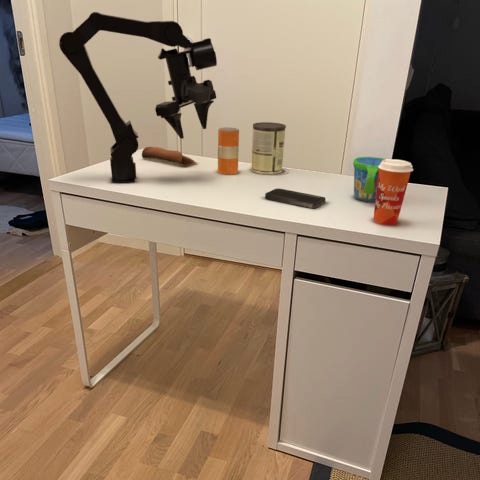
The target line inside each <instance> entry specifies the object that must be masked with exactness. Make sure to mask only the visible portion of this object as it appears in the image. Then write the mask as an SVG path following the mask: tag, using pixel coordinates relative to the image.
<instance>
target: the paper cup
mask: <svg viewBox="0 0 480 480" xmlns="http://www.w3.org/2000/svg"><path fill="white" fill-rule="evenodd" d="M385 159H386V160H383V161H382V162H381V163H380V165H379V166H378V167H379V175H378V182H377V192H376V200H375V202H374V209H373V219H372V220H373V222H374V223H375V224H378V225H382V226H395V225H396V224H397V223H398V220H399V217H400V214H401V210H402V207H403V202H404V199H405V195H406V191H407V188H408V185H409V181H410V176H411V173H412V172H413V171H414V168H413V165H412V163H411V162H410V161H407V160H403V159H395V158H394V159H393V158H392V159H391V158H388V159H387V158H385Z"/></svg>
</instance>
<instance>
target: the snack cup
mask: <svg viewBox="0 0 480 480" xmlns="http://www.w3.org/2000/svg"><path fill="white" fill-rule="evenodd" d="M386 159H387V158H383V157H376V156H359V157H355V158H354V159H353V163H352V165H353V170H354V171H353V195H354V198H355V199H356V200H359V201H362V202H368V203H369V202H370V203H372V202H373V203H375V200H376V192H377V182H378V175H379V167H378V166H379V165H380V163H381V162H382V161H383V160H386Z"/></svg>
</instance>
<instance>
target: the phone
mask: <svg viewBox="0 0 480 480" xmlns="http://www.w3.org/2000/svg"><path fill="white" fill-rule="evenodd" d="M264 198H265V199H266V200H271V201H276V202H281V203H285V204H290V205H295V206H299V207H305V208H309V209H317V208H318V207H320V206H322V205H324V204H325V203H326V197H325V196H320V195H315V194H311V193H304V192H301V191H295V190H291V189H290V190H289V189H284V188H274V189H272V190H270V191H267V192H265V195H264Z"/></svg>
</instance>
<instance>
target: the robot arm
mask: <svg viewBox="0 0 480 480" xmlns="http://www.w3.org/2000/svg"><path fill="white" fill-rule="evenodd" d="M100 31H104V32H109V33H115V34H120V35H121V34H122V35H126V36H134V37H139V38H145V39H147V40H151V41H154V42H157V43H159V44H161V45H165V46H167V47H171V48H172V49H167V50H166V49H165V48H163V47H162V48H161V49H160V52H159V54H158V56H157V59H159V60H164V59H165V62H166V67H167V70H168V76H169V79H170V80H167V83H168V86H171V87H172V91H173V92H172V93H173V96H171V101H164V102H160V103H158V104H156V105H155V108H154V111H155V114H156V117H160V118H161V119H164V120H165V121H166V122H167V123H168V124H169V126H170V127H171V128H172V129H173V130H174V132H175V133H176V135H177V136H178V137H179V139H181V140H183V139H184V138H185V137H184V130H183V126H182V121H181V117H182V112H180V110H181V108H184V107H187V106H189V105H192V104H193V106H194V109H195V112H196V115H197V118H198V120H199V122H200V126H201V128H202V130H206V129H207V125H208V115H209V109H210V107H211V105H212V104H214V102H215V99H217V93H216V90H215V88H214V84H213V81H212V80H210V79H205V80H203V81H202V82H200V83H199V82H198V81H197V78H196V77H195V75H192V73H191V69H190V67H191V68H194V69H195V70H196V71H200V70H205V69H209V68H213V67H217V66H218V61H217V55H216V54H217V53H216V51H215V48H214V45H213V43H212V39H211V38H210V37H208V38H204V39H202V40H199V41H195V42H191V40H190V39H189V38H188V37H187V36H185V35H184V32H183V29H182V26H181V25H180V24H179V23H178V22H176V21H174V20H157V21H145V20H139V19H134V18H127V17H122V16H115V15H110V14H105V13H100V12H98V11H93V12H91V13H90V14H89V16H88V17H87V18H86V19H85V20H84V21H83V22H82V23H80V25H79V26H78V27H76V28H75V29H74V30H73V31H67V32H64V33H63V34H62V35H61V36H60V38H59V42H58V46H59V49H60V51H61V53H62V54H63V55H64V57H65V58H66V59H67V61H68V62H69V63H70V64H71V65H72V66H73V67H74V69H75V70H76V71H77V72H78V73H79V75H80V76H81V78H82V79H83V81H84V83H85V85H86V87H87V88H88V89H89V91H90V93H91V95H92V96H93V98H94V100H95V102H96V103H97V106H98V107H99V109H100V110H101V112H102V114H103V116H104V117H105V119H106V121H107V123H108V124H109V127H110V129H111V133H112V135H113V138H114V141H115V142H114V143H113V145H112V146H111V147H110V156H111V157H110V158H109V163H110V171H111V179H110V180H111V181H110V182H111V183H135V180H137V165H136V162H135V161H134V157H133V155H134V154H135V153H136V152H137V151H138V148H139V141H138V139H139V138H140V137H139V135H138V134H139V133H138V132H137V131H136V130H135V128H134V127H133V125H132V124H133V123H132V122H131V120H128V121H127V122H126V121H125V120H124V119H123V117H122V116H121V115H120V113H119V111H118V108H117V107H116V106H115V103H114V102H113V100H112V99H111V97H110V95H109V93H108V91H107V89H106V88H105V86H104V84H103V82H102V81H101V79H100V77H99V76H98V74H97V72H96V70H95V68H94V67H93V63H92V61H91V58H90V55H89V51H88V49H87V47H86V44H87V43H89V41H90V40H92V39H93V37H94V36H96V35H97V34H98V33H99V32H100ZM173 47H180V48H182V49H186V50H183V51H178V49H177V48H173ZM187 54H188V55H187ZM189 64H190V65H189Z"/></svg>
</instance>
